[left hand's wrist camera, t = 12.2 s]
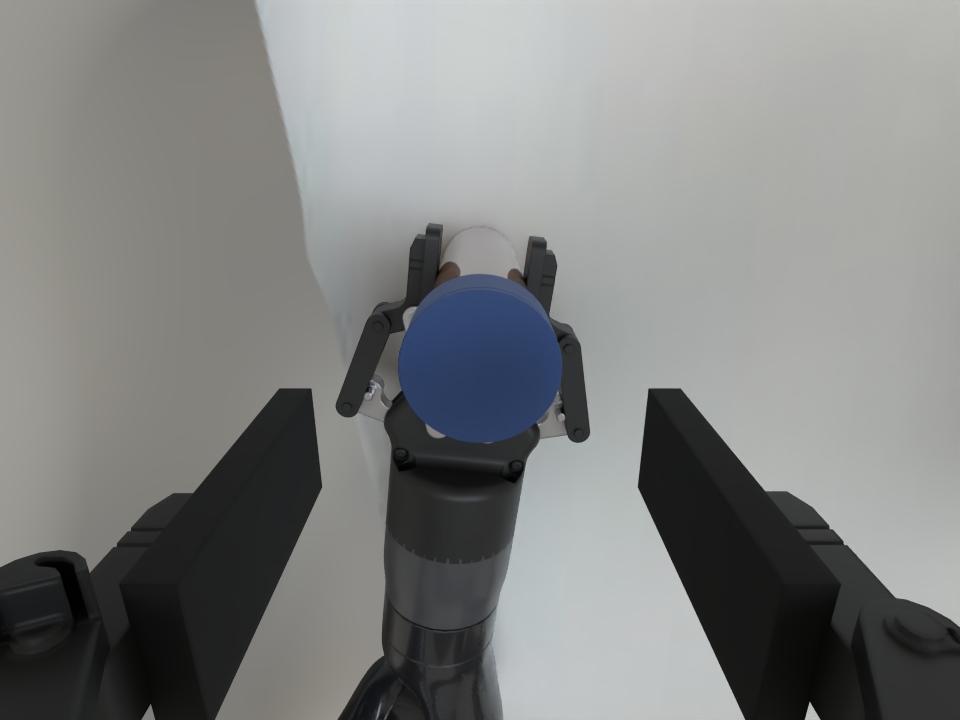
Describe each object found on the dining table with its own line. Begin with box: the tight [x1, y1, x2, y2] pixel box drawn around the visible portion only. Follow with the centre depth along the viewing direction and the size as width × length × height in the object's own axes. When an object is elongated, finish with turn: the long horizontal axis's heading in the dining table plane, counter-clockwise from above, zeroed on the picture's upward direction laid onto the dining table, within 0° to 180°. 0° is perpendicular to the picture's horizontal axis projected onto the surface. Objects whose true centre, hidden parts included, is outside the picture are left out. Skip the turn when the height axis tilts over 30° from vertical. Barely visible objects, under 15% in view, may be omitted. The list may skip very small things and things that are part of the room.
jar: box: [433, 227, 527, 290], centre depth 27 cm, size 4×4×17 cm
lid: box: [398, 274, 562, 443], centre depth 20 cm, size 5×5×2 cm
